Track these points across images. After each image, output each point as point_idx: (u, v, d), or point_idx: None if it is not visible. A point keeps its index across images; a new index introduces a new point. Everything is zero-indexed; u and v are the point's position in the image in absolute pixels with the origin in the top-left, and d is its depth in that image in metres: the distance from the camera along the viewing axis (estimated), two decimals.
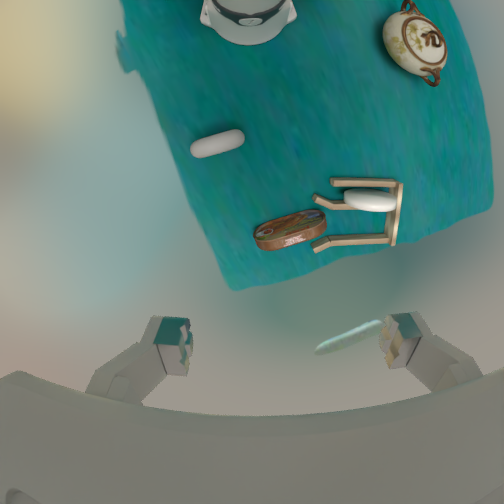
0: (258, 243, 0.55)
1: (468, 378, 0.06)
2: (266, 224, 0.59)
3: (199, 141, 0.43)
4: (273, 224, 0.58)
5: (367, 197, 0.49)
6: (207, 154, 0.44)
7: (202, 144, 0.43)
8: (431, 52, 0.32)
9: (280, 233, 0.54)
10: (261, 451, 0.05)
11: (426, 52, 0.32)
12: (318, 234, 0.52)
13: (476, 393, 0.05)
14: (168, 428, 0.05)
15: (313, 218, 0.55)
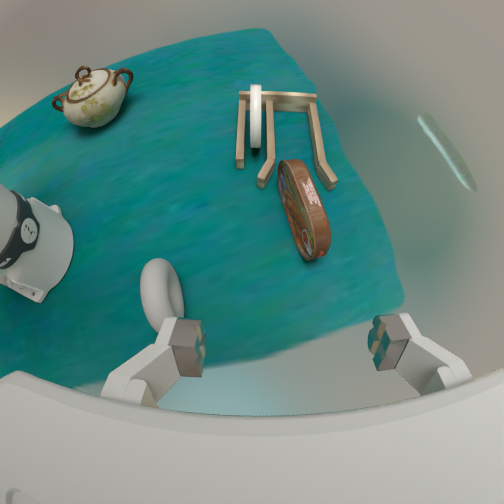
0: (320, 247, 0.34)
1: (457, 382, 0.06)
2: (300, 246, 0.40)
3: (145, 314, 0.30)
4: (298, 235, 0.40)
5: None
6: (163, 303, 0.30)
7: (147, 307, 0.29)
8: (96, 76, 0.40)
9: (304, 215, 0.36)
10: (261, 451, 0.05)
11: (96, 80, 0.40)
12: (301, 163, 0.36)
13: (476, 393, 0.05)
14: (168, 428, 0.05)
15: (285, 178, 0.40)
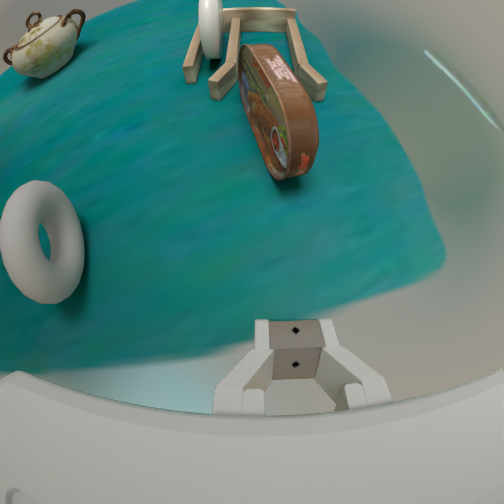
0: (300, 143, 0.18)
1: (367, 403, 0.06)
2: (271, 166, 0.24)
3: None
4: (268, 148, 0.24)
5: None
6: (20, 239, 0.13)
7: (0, 246, 0.13)
8: (46, 21, 0.24)
9: (270, 102, 0.19)
10: (261, 451, 0.05)
11: (45, 24, 0.23)
12: (267, 44, 0.20)
13: (476, 393, 0.05)
14: (168, 428, 0.05)
15: (246, 74, 0.23)
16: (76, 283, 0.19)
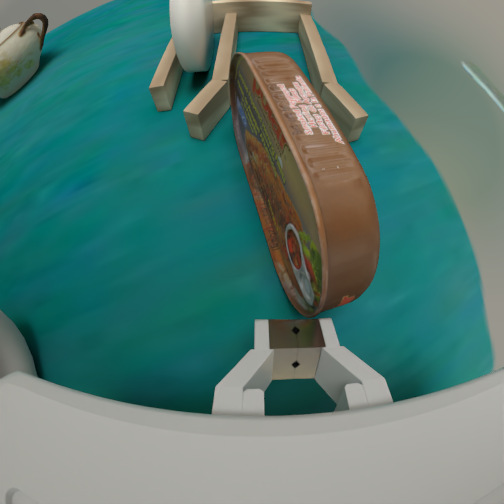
0: (344, 284, 0.09)
1: (368, 403, 0.06)
2: (283, 270, 0.15)
3: None
4: (279, 240, 0.15)
5: None
6: None
7: None
8: (4, 31, 0.15)
9: (287, 178, 0.11)
10: (261, 451, 0.05)
11: (2, 34, 0.15)
12: (277, 52, 0.12)
13: (476, 393, 0.05)
14: (168, 428, 0.05)
15: (243, 102, 0.15)
16: None
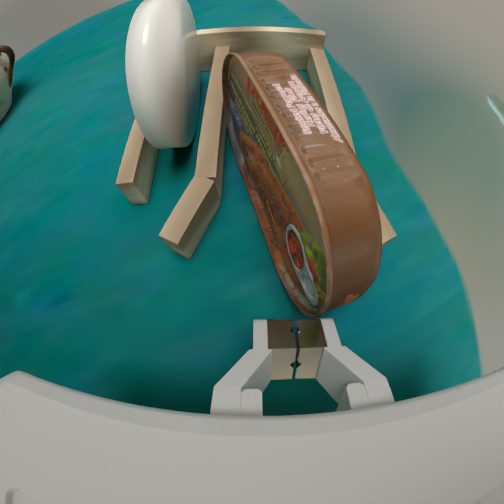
0: (348, 283, 0.09)
1: (369, 403, 0.06)
2: (284, 271, 0.15)
3: None
4: (279, 241, 0.15)
5: None
6: None
7: None
8: None
9: (286, 178, 0.11)
10: (261, 451, 0.05)
11: None
12: (271, 51, 0.11)
13: (476, 393, 0.05)
14: (168, 428, 0.05)
15: (237, 103, 0.15)
16: None
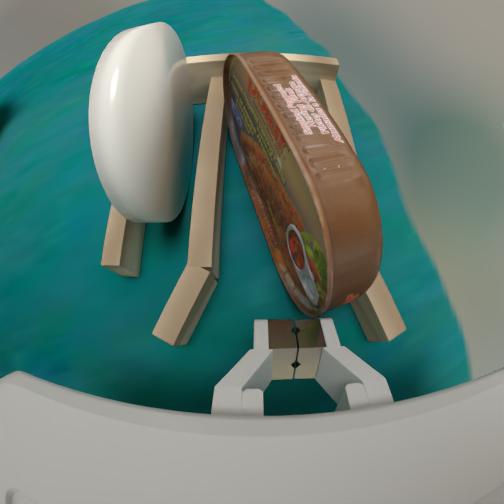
0: (349, 283, 0.09)
1: (368, 403, 0.06)
2: (284, 271, 0.15)
3: None
4: (279, 241, 0.15)
5: None
6: None
7: None
8: None
9: (287, 178, 0.11)
10: (261, 451, 0.05)
11: None
12: (272, 52, 0.11)
13: (476, 393, 0.05)
14: (168, 428, 0.05)
15: (238, 103, 0.15)
16: None
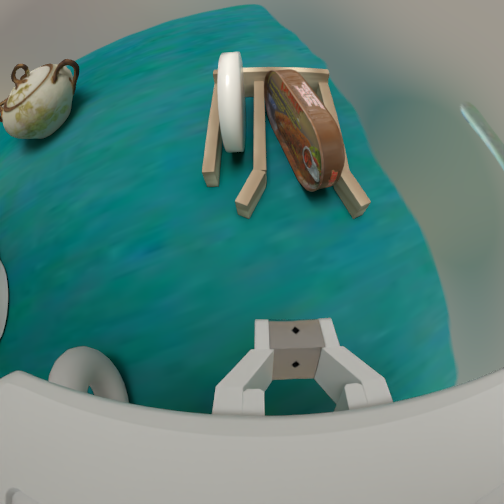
0: (330, 162, 0.22)
1: (367, 403, 0.06)
2: (302, 179, 0.28)
3: None
4: (298, 163, 0.27)
5: None
6: None
7: None
8: (34, 75, 0.25)
9: (302, 126, 0.23)
10: (261, 451, 0.05)
11: (33, 79, 0.25)
12: (292, 70, 0.24)
13: (476, 393, 0.05)
14: (168, 428, 0.05)
15: (273, 96, 0.27)
16: None
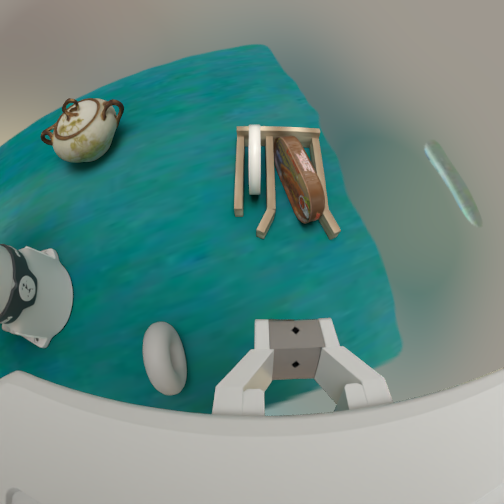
0: (316, 208, 0.38)
1: (367, 403, 0.06)
2: (297, 213, 0.44)
3: (150, 380, 0.29)
4: (296, 203, 0.43)
5: None
6: (167, 372, 0.29)
7: (151, 376, 0.28)
8: (85, 110, 0.39)
9: (299, 182, 0.39)
10: (261, 451, 0.05)
11: (84, 114, 0.39)
12: (294, 138, 0.40)
13: (476, 393, 0.05)
14: (168, 428, 0.05)
15: (280, 153, 0.43)
16: None
